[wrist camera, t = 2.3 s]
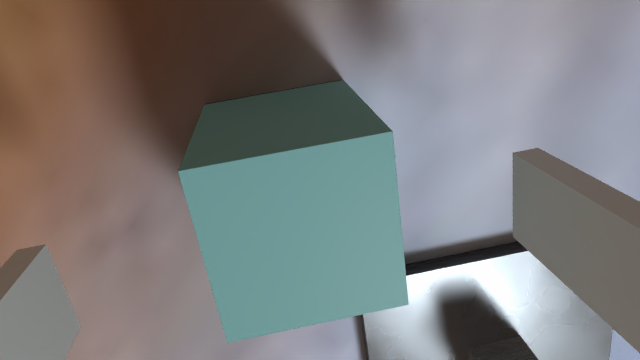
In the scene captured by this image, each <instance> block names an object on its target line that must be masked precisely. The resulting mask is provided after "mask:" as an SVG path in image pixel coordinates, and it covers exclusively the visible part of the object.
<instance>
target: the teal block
mask: <svg viewBox="0 0 640 360" xmlns="http://www.w3.org/2000/svg"><path fill="white" fill-rule="evenodd" d="M178 173H179V177H180V180H181V183H182V187H183V190H184V194H185V197H186V201H187V204H188V208H189V211H190V215H191V218H192V222H193V225H194V229H195V232H196V236H197V239H198V242H199V246H200V249H201V253H202V256H203V260H204V263H205V267H206V270H207V274H208V277H209V281H210V284H211V288H212V291H213V295H214V298H215V302H216V305H217V308H218V312H219V315H220V319H221V322H222V326H223V329H224V333H225V336H226V340H227V343H229V342H233V341H238V340H243V339H248V338H252V337H257V336H262V335H267V334H272V333H276V332H281V331H286V330H291V329H295V328H300V327H305V326H310V325H314V324H319V323H324V322H329V321H333V320H338V319H343V318H348V317H353V316H357V315H362V314H367V313H372V312H376V311H381V310H386V309H391V308H395V307H400V306H405V305H409V301H408V291H407V280H406V269H405V259H404V248H403V238H402V227H401V216H400V206H399V195H398V184H397V174H396V163H395V152H394V142H393V131H392V130H391V129H390V128H389V127H388V126H387V125H386V124H385V123H384V122H383V121H382V120H381V119H380V118H379V117H378V116H377V115H376V114H375V113H374V112H373V110H372V109H371V108H370V107H369V106H368V105H367V104H366V103H365V102H364V101H363V100H362V99H361V98H360V97H359V96H358V95H357V94H356V93H355V92H354V91H353V90H352V88H351V87H350V86H349V85H348V84H347V83H346V82H345V81H344V80H341V81H335V82H329V83H324V84H318V85H312V86H307V87H301V88H296V89H290V90H284V91H279V92H273V93H267V94H262V95H256V96H251V97H245V98H239V99H234V100H228V101H222V102H217V103H211V104H206V105H204V107H203V109H202V112H201V114H200V117H199V119H198V122H197V124H196V127H195V129H194V132H193V135H192V137H191V140H190V142H189V145H188V147H187V150H186V152H185V155H184V157H183V160H182V162H181V165H180V168H179V170H178Z"/></svg>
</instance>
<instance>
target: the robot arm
mask: <svg viewBox="0 0 640 360" xmlns="http://www.w3.org/2000/svg"><path fill="white" fill-rule="evenodd" d="M513 237H514V238H515V239H516V240H517V241H518V242H519V243H520V244H521V245H522V246H524V247H525V248H526V249H527V250H528V251H529V252H530V253H531V254H532V255H533V256H534V257H536V258H537V259H538V260H539V261H540V262H541V263H542V264H543V265H544V266H545V267H546V268H548V269H549V270H550V271H551V272H552V273H553V274H554V275H555V276H556V277H557V278H558V279H560V280H561V281H562V282H563V283H564V284H565V285H566V286H567V287H568V288H569V289H570V290H572V291H573V292H574V293H575V294H576V295H577V296H578V297H579V298H580V299H581V300H582V301H584V302H585V303H586V304H587V305H588V306H589V307H590V308H591V309H592V310H593V311H594V312H596V313H597V314H598V315H599V316H600V317H601V318H602V319H603V320H604V321H605V322H606V323H607V324H609V325H610V326H611V327H612V328H613V329H614V330H615V331H616V332H617V333H618V334H619V335H621V336H622V337H623V338H624V339H625V340H626V341H627V342H628V343H629V344H630V345H631V346H633V347H634V348H635V349H636V350H637V351H638V352H639V353H640V202H639V201H637V200H635V199H633V198H631V197H630V196H628V195H626V194H624V193H622V192H620V191H618V190H616V189H615V188H613V187H611V186H609V185H607V184H605V183H603V182H601V181H599V180H598V179H596V178H594V177H592V176H590V175H588V174H586V173H584V172H582V171H581V170H579V169H577V168H575V167H573V166H571V165H569V164H567V163H566V162H564V161H562V160H560V159H558V158H556V157H554V156H552V155H550V154H549V153H547V152H545V151H543V150H541V149H539V148H535V149H530V150H525V151H520V152H515V153H513ZM80 327H81V326H80V324H79V321H78V319H77V317H76V314H75V312H74V309H73V307H72V305H71V302H70V300H69V298H68V295H67V293H66V290H65V288H64V286H63V283H62V281H61V279H60V276H59V274H58V271H57V269H56V267H55V264H54V262H53V260H52V257H51V255H50V252H49V250H48V248H47V245H46V244H45V245H40V246H35V247H30V248H25V249H20V250H16V251H15V252H14V254H13V255H12V256H11V257H10V258H9V259H8V260H7V261H6V262H5V263H4V265H3V266H2V267H1V268H0V360H64V359H65V357H66V355H67V353H68V351H69V349H70V347H71V345H72V343H73V341H74V339H75V337H76V335H77V333H78V331H79V329H80Z"/></svg>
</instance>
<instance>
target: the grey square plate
mask: <svg viewBox="0 0 640 360" xmlns="http://www.w3.org/2000/svg"><path fill="white" fill-rule="evenodd" d="M405 269H406V280H407V291H408V301H409V305H405V306H400V307H395V308H391V309H386V310H381V311H376V312H372V313H367V314H362V315H361V319H362V326H363V333H364V340H365V346H366V353H367V360H609V357H610V349H611V340H612V331H613V328H612V327H611V326H610V325H609V324H607V323H606V322H605V321H604V320H603V319H602V318H601V317H600V316H599V315H598V314H597V313H596V312H594V311H593V310H592V309H591V308H590V307H589V306H588V305H587V304H586V303H585V302H584V301H582V300H581V299H580V298H579V297H578V296H577V295H576V294H575V293H574V292H573V291H572V290H570V289H569V288H568V287H567V286H566V285H565V284H564V283H563V282H562V281H561V280H560V279H558V278H557V277H556V276H555V275H554V274H553V273H552V272H551V271H550V270H549V269H548V268H546V267H545V266H544V265H543V264H542V263H541V262H540V261H539V260H538V259H537V258H536V257H534V256H533V255H532V254H531V253H530V252H529V251H528V250H527V249H526V248H525V247H524V246H522V245H521V244H520V243H519V242H516V243H511V244H506V245H501V246H496V247H491V248H486V249H482V250H477V251H472V252H467V253H462V254H457V255H452V256H447V257H442V258H437V259H433V260H428V261H423V262H418V263H413V264H408V265H405Z"/></svg>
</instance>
